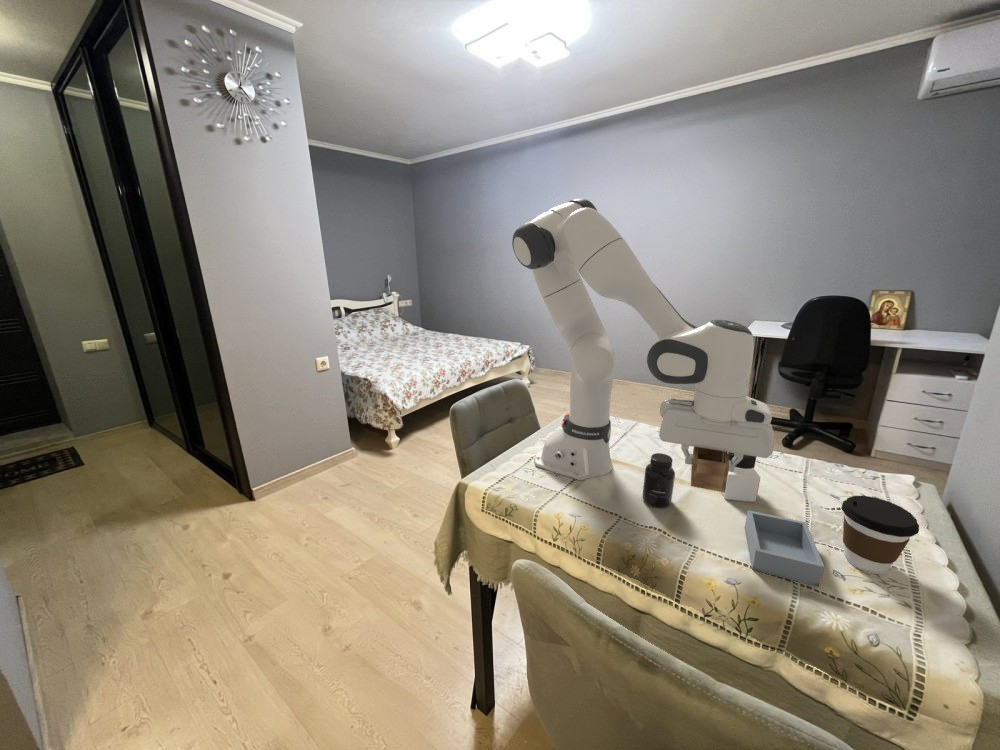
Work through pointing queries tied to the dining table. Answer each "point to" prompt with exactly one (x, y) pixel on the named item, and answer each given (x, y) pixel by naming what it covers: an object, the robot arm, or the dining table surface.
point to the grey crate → (783, 548)
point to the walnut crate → (709, 469)
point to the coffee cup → (875, 532)
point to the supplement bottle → (659, 481)
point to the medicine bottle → (742, 480)
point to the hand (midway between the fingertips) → (708, 466)
